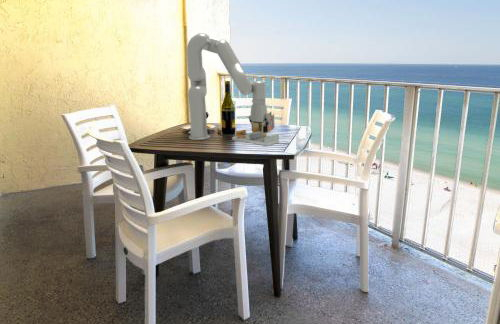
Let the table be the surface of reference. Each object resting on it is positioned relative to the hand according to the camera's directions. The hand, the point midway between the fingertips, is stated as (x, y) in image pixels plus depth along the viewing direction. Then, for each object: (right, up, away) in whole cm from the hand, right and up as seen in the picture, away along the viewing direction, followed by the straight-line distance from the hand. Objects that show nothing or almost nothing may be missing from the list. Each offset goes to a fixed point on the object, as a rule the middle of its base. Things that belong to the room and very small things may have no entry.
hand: (259, 131), depth 225 cm
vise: (-3, -6, -11) cm, 13 cm away
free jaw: (-7, -4, -8) cm, 11 cm away
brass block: (0, -3, +1) cm, 3 cm away
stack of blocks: (+5, +3, +24) cm, 25 cm away
